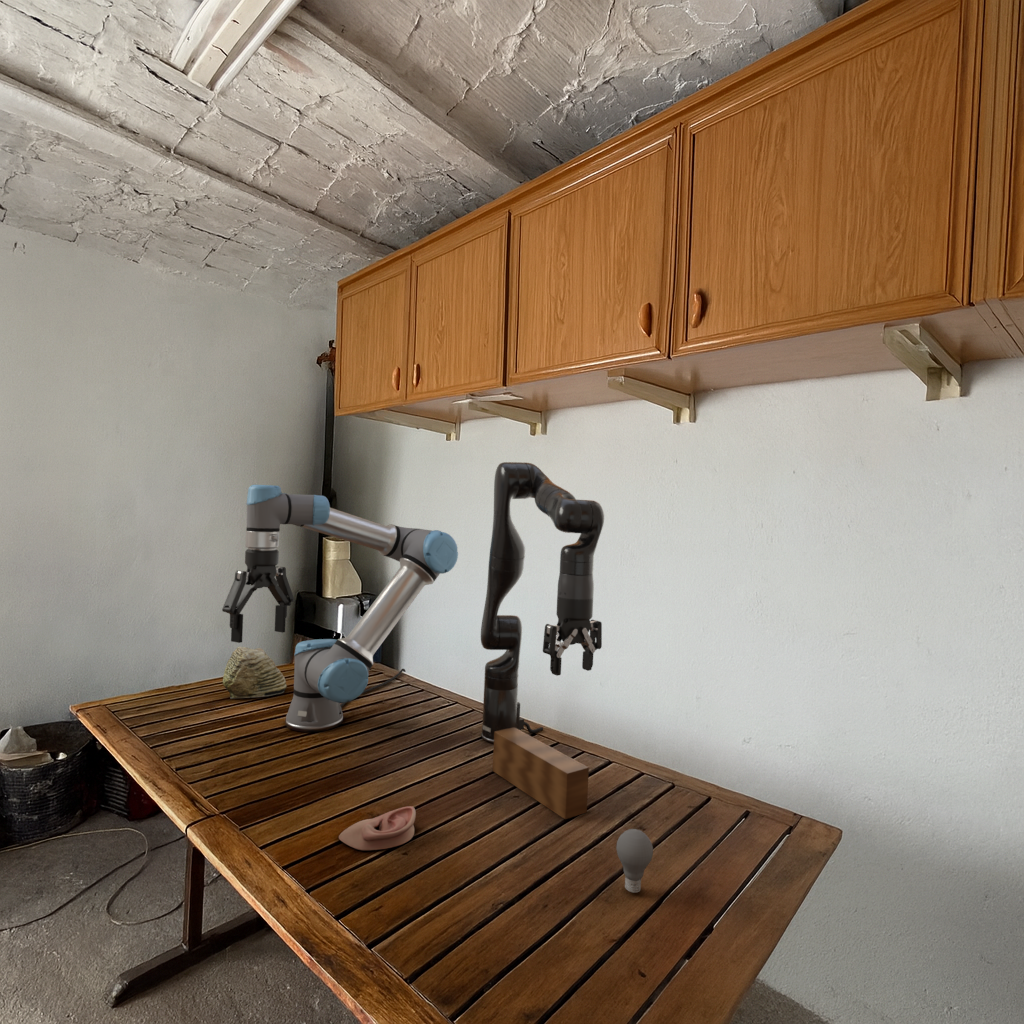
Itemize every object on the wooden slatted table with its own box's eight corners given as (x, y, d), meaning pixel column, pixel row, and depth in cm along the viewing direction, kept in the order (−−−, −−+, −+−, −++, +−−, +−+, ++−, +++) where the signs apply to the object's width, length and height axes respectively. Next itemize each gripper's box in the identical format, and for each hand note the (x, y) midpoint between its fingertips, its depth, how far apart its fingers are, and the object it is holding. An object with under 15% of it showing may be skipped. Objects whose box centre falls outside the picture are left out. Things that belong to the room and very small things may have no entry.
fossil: (218, 695, 195) (220, 647, 195) (278, 685, 208) (279, 640, 207) (228, 703, 189) (230, 653, 188) (289, 692, 201) (290, 645, 201)
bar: (492, 771, 150) (494, 731, 150) (512, 765, 154) (514, 727, 153) (565, 819, 129) (567, 773, 128) (586, 812, 132) (588, 767, 132)
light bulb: (610, 879, 108) (613, 822, 108) (644, 879, 109) (647, 822, 109) (619, 902, 102) (622, 840, 102) (655, 901, 103) (658, 840, 103)
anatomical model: (331, 824, 115) (359, 795, 126) (330, 845, 115) (358, 815, 126) (400, 835, 112) (422, 805, 124) (399, 857, 112) (421, 825, 124)
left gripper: (232, 553, 139) (228, 648, 140) (310, 547, 162) (307, 629, 163) (207, 550, 143) (204, 644, 143) (287, 545, 165) (284, 626, 166)
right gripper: (560, 599, 125) (557, 681, 125) (612, 595, 133) (609, 672, 134) (537, 594, 131) (533, 671, 131) (588, 590, 139) (584, 664, 140)
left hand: (259, 636), depth 153 cm, fingers open, 13 cm apart
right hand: (571, 672), depth 133 cm, fingers open, 8 cm apart
